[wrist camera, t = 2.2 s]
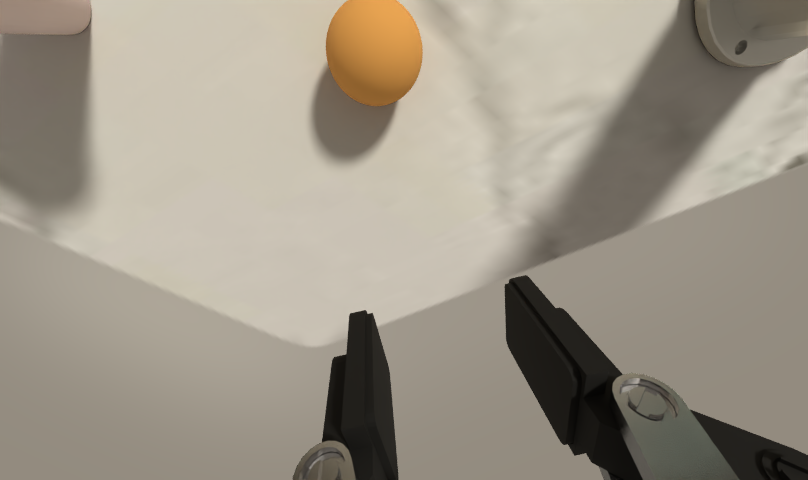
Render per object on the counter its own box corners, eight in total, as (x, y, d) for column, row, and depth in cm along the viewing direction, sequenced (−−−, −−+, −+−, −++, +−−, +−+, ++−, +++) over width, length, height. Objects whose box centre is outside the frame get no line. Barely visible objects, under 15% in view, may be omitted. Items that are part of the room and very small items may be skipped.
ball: (407, -2, 19) (421, -34, 14) (420, 95, 21) (437, 97, 16) (320, 16, 19) (303, -11, 14) (344, 111, 21) (337, 117, 16)
